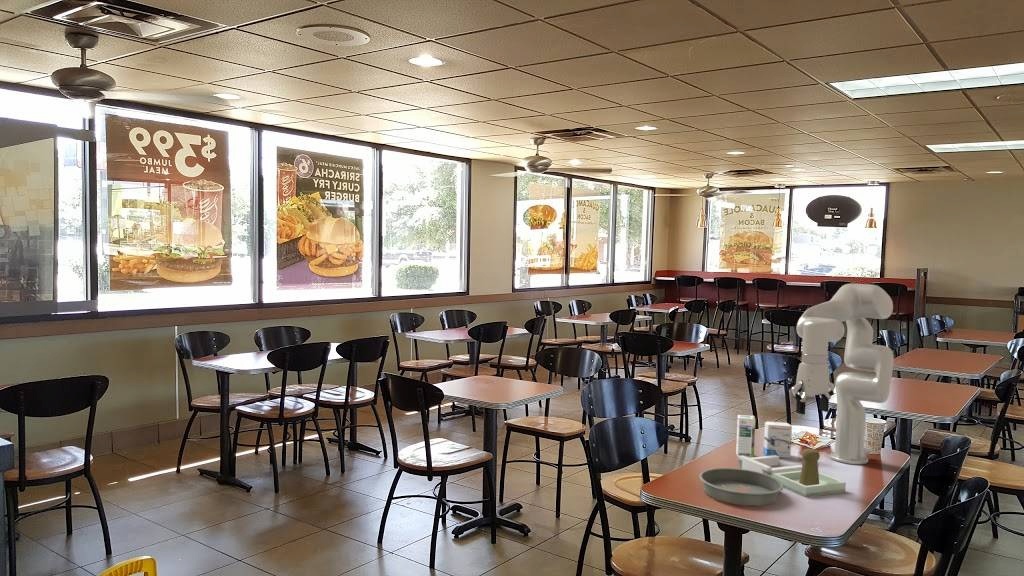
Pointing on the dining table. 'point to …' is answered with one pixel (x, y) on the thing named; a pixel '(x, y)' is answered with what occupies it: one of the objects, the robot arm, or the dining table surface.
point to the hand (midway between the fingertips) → (812, 412)
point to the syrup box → (745, 436)
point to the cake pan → (760, 485)
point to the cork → (810, 467)
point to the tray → (824, 487)
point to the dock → (765, 465)
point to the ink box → (777, 439)
